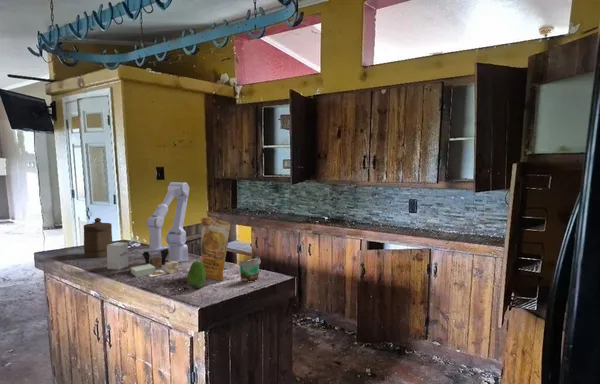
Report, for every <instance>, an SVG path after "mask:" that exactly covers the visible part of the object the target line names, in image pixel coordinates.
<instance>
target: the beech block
mask: <svg viewBox="0 0 600 384" xmlns="http://www.w3.org/2000/svg"><path fill="white" fill-rule="evenodd" d="M164 272H166V273H167V274H170V275H171V274H174V273H178V272H179V262H175V261H170V262H169V261H167V262H166V261H165V263H164Z"/></svg>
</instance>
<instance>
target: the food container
mask: <svg viewBox="0 0 600 384" xmlns="http://www.w3.org/2000/svg"><path fill="white" fill-rule="evenodd" d="M261 262H262V261H261V258H260V256H257V255H254V257H253V258H249V259H246V260H243V261H242V260H239V264H238V266H239V272H240V281H243V282H242V283H249V282H248V281H254V282H256V281H255V280H257V279H258V280H259V270H260V264H261ZM258 280H257V281H258Z"/></svg>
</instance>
